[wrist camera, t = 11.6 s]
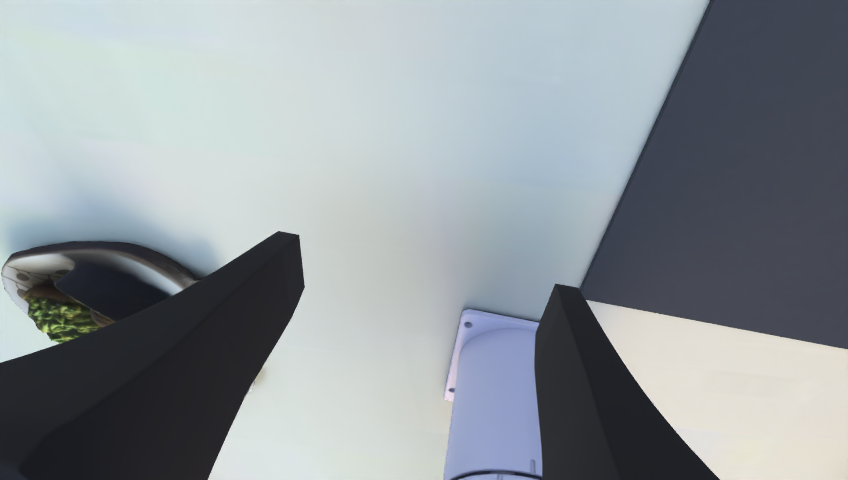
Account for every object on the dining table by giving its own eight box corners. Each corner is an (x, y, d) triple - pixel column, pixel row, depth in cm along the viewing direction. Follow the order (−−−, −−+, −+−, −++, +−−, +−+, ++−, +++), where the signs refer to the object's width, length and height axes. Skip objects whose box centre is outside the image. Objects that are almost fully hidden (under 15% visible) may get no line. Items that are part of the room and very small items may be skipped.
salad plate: (307, 413, 36) (284, 467, 33) (141, 401, 41) (104, 448, 37) (202, 230, 25) (150, 282, 22) (-11, 241, 30) (-84, 285, 26)
